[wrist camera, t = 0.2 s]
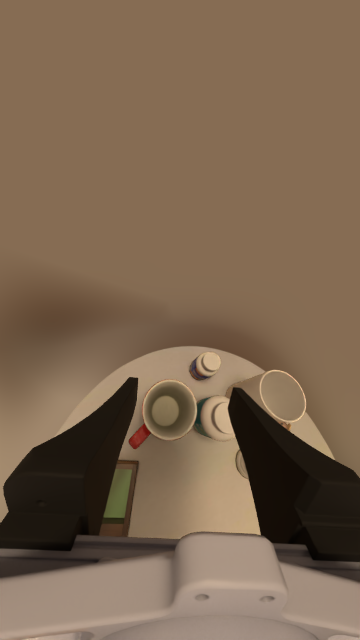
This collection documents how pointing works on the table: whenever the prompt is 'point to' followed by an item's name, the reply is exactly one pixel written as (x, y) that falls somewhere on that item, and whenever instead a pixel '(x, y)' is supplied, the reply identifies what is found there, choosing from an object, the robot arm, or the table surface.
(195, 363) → the pill bottle
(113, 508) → the tray
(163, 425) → the mug
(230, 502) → the table surface
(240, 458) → the chess piece
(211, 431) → the pill bottle
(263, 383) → the cup
